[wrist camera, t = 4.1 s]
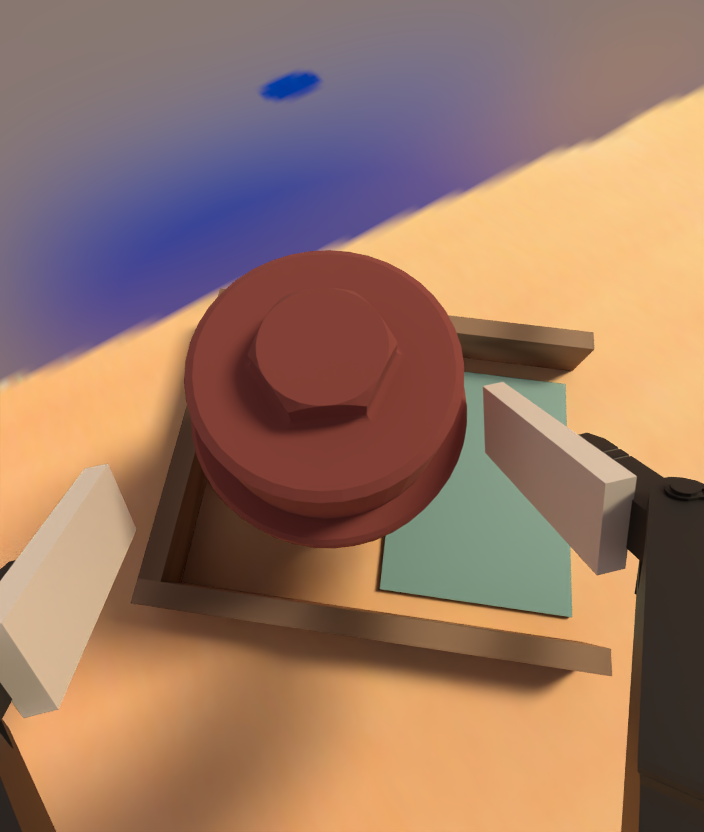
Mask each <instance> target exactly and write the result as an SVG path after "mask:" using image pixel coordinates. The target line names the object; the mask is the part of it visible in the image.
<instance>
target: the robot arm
mask: <svg viewBox="0 0 704 832" xmlns="http://www.w3.org/2000/svg"><path fill="white" fill-rule="evenodd" d="M483 407H484V435H485V453H486V454H487V455H488V456H489V457H490V459H491V460H492V461H493V462H494V463H495V464H496V465H497V466H498V467H499V468H500V470H501V471H502V472H503V473H504V474H505V475H506V476H507V477H508V478H509V479H510V481H511V482H512V483H513V484H514V485H515V486H516V487H517V488H518V489H519V490H520V492H521V493H522V494H523V495H524V496H525V497H526V498H527V499H528V500H529V501H530V503H531V504H532V505H533V506H534V507H535V508H536V509H537V510H538V511H539V512H540V513H541V515H542V516H543V517H544V518H545V519H546V520H547V521H548V522H549V523H550V524H551V526H552V527H553V528H554V529H555V530H556V531H557V532H558V533H559V534H560V535H561V537H562V538H563V539H564V540H565V541H566V542H567V543H568V544H569V545H570V546H571V548H572V549H573V550H574V551H575V552H576V553H577V554H578V555H579V556H580V557H581V559H582V560H583V561H584V562H585V563H586V564H587V565H588V566H589V567H590V568H591V569H592V571H593V572H594V573H595V574H596V575H601V574H605V573H609V572H613V571H617V570H621V569H625V566H626V558H627V550H629V551H630V552H631V553H632V554H634V555H635V556H636V557H637V558H638V559H639V567H638V574H637V581H636V588H635V594H636V609H635V625H634V641H633V656H632V672H631V687H630V703H629V719H628V734H627V750H626V766H625V781H624V797H623V813H622V828H621V832H704V484H703V483H700V482H698V481H695V480H691V479H686V478H680V477H667V478H664V477H662V476H661V475H659V474H657V473H656V472H654V471H653V470H651V469H650V468H648V467H647V466H645V465H644V464H642V463H641V462H639V461H638V460H636V459H635V458H633V457H632V456H630V457H629V454H627V453H626V452H624V451H623V450H621V449H618V447H617V446H615V445H614V444H612V443H611V442H609V441H608V440H606V439H604V438H601V437H598V436H595V435H592V434H589V433H584V434H580V435H578V434H576V433H575V432H573V431H572V430H571V429H569V428H568V427H566V426H565V425H564V424H562V423H561V422H559V421H558V420H556V419H555V418H554V417H552V416H551V415H549V414H548V413H547V412H545V411H544V410H542V409H541V408H539V407H538V406H537V405H535V404H534V403H532V402H531V401H530V400H528V399H527V398H525V397H524V396H522V395H521V394H520V393H518V392H517V391H515V390H514V389H513V388H511V387H510V386H508V385H507V384H505V383H504V382H500V383H495V384H490V385H485V386H483ZM136 530H137V529H136V527H135V524H134V522H133V520H132V517H131V515H130V513H129V510H128V508H127V506H126V504H125V501H124V499H123V497H122V494H121V492H120V490H119V487H118V485H117V483H116V481H115V478H114V476H113V474H112V471H111V469H110V467H109V464H104V465H99V466H94V467H89V468H85V469H84V470H83V471H82V473H81V474H80V475H79V477H78V478H77V479H76V481H75V482H74V483H73V485H72V486H71V487H70V489H69V490H68V491H67V493H66V494H65V495H64V497H63V498H62V499H61V501H60V502H59V503H58V505H57V506H56V507H55V509H54V510H53V511H52V513H51V514H50V515H49V517H48V518H47V519H46V521H45V522H44V523H43V525H42V526H41V527H40V529H39V530H38V531H37V533H36V534H35V535H34V537H33V538H32V539H31V541H30V542H29V543H28V545H27V546H26V547H25V549H24V550H23V551H22V553H21V554H20V555H19V557H18V558H17V559H16V560H14V561H10V562H8V563H7V564H6V565H5V566H4V567H2V568H1V569H0V832H56V830H55V828H54V826H53V824H52V822H51V819H50V817H49V815H48V813H47V811H46V808H45V806H44V804H43V802H42V800H41V797H40V795H39V793H38V791H37V789H36V786H35V784H34V782H33V780H32V778H31V775H30V773H29V771H28V769H27V767H26V764H25V762H24V760H23V758H22V756H21V753H20V751H19V749H18V747H17V745H16V742H15V740H14V738H13V736H12V734H11V731H10V729H9V728H8V726H7V725H6V724H5V722H4V721H3V720H2V718H3V716H4V714H5V712H6V710H7V709H8V707H9V705H10V703H11V701H12V703H13V704H14V706H15V707H16V708H17V710H18V711H19V713H20V714H21V715H22V717H23V718H26V717H30V716H34V715H38V714H42V713H46V712H50V711H54V710H58V709H59V707H60V705H61V702H62V700H63V698H64V696H65V693H66V691H67V689H68V686H69V684H70V682H71V679H72V677H73V675H74V673H75V670H76V668H77V666H78V663H79V661H80V659H81V656H82V654H83V652H84V650H85V647H86V645H87V643H88V640H89V638H90V636H91V633H92V631H93V629H94V627H95V624H96V622H97V620H98V617H99V615H100V613H101V610H102V608H103V606H104V604H105V601H106V599H107V597H108V594H109V592H110V590H111V587H112V585H113V583H114V580H115V578H116V576H117V574H118V571H119V569H120V567H121V564H122V562H123V560H124V557H125V555H126V553H127V551H128V548H129V546H130V544H131V541H132V539H133V537H134V534H135V532H136Z"/></svg>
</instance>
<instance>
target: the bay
mask: <svg viewBox="0 0 704 832" xmlns="http://www.w3.org/2000/svg"><path fill="white" fill-rule="evenodd" d="M224 290H225V289H220V291H219V295H220V294H221V293H222V292H223V291H224ZM219 295H218V296H219ZM448 316H449V315H448ZM449 318H450V320H451V322H452V324H453V326H454V327H455V330H456V333H457V336H458V339H459V342H460V344H461V349H462V355H463V357H464V358H472V359H480V360H488V361H496V362H505V363H513V364H521V365H529V366H538V367H546V368H554V369H562V370H570V371H573V370H574V369H575V368H576V367H577V366H578V365H579V364H580V363H581V362H582V361H583V360H584V359H585V358H586V357H587V356H588V355H589V354H590V353H591V352H592V351H593V350H594V335H593V332H585V331H576V330H568V329H559V328H551V327H542V326H534V325H525V324H517V323H508V322H500V321H491V320H483V319H474V318H466V317H457V316H449ZM500 382H504V383H505V384H507V385H508V386H510V387H511V388H513V389H514V390H515V391H517V392H518V393H520V394H521V395H522V396H524V397H525V398H527V399H528V400H530V401H531V402H532V403H534V404H535V405H537V406H538V407H539V408H541V409H542V410H544V411H545V412H547V413H548V414H549V415H551V416H552V417H554V418H555V419H556V420H558V421H559V422H561V423H562V424H564V425H565V426H566V427H567V420H566V385H565V384H561V383H552V382H544V381H536V380H528V379H520V378H512V377H504V376H496V375H487V374H479V373H471V372H464V388H465V395H466V402H467V428H466V434H465V440H464V445H463V448H462V451H461V454H460V457H459V460H458V462H457V464H456V466H455V468H454V470H453V472H452V474H451V476H450V478H449V480H448V481H447V483H446V484H445V485H444V487H443V488H442V490H441V491H440V492H439V494H438V495H437V496H436V497H435V498H434V499H433V500H432V502H431V503H430V504H429V505H428V506H427V507H426V508H425V509H424V510H423V511H422V512H421V513H419V514H418V515H417V516H416V517H415V518H414V519H412V520H411V521H410V522H409V523H407V524H406V525H404V526H402V527H401V528H399V529H398V530H396V531H394V532H393V533H391V534H388V535H386V536H385V544H384V554H383V563H382V572H381V581H380V589H383V590H389V591H396V592H403V593H410V594H417V595H424V596H430V597H437V598H444V599H451V600H458V601H464V602H471V603H478V604H485V605H492V606H499V607H505V608H512V609H519V610H526V611H533V612H540V613H546V614H553V615H560V616H567V617H572V594H571V559H570V545H569V544H568V543H567V542H566V541H565V540H564V539H563V538H562V537H561V535H560V534H559V533H558V532H557V531H556V530H555V529H554V528H553V527H552V526H551V524H550V523H549V522H548V521H547V520H546V519H545V518H544V517H543V516H542V515H541V513H540V512H539V511H538V510H537V509H536V508H535V507H534V506H533V505H532V504H531V503H530V501H529V500H528V499H527V498H526V497H525V496H524V495H523V494H522V493H521V492H520V490H519V489H518V488H517V487H516V486H515V485H514V484H513V483H512V482H511V481H510V479H509V478H508V477H507V476H506V475H505V474H504V473H503V472H502V471H501V470H500V468H499V467H498V466H497V465H496V464H495V463H494V462H493V461H492V460H491V459H490V457H489V456H488V455H487V454H486V453H485V435H484V407H483V386H485V385H490V384H495V383H500ZM206 480H207V477H206V476H205V474H204V472H203V470H202V467H201V465H200V462H199V460H198V458H197V455H196V451H195V446H194V442H193V438H192V426H191V416H190V412H189V409H188V405H187V407H186V411H185V414H184V418H183V421H182V425H181V428H180V432H179V435H178V439H177V442H176V446H175V449H174V453H173V456H172V460H171V463H170V467H169V470H168V474H167V478H166V481H165V485H164V488H163V492H162V495H161V499H160V502H159V506H158V509H157V513H156V516H155V520H154V523H153V527H152V530H151V534H150V537H149V541H148V544H147V548H146V551H145V555H144V558H143V562H142V565H141V569H140V573H139V576H138V580H137V583H136V587H135V590H134V594H133V597H132V601H131V603H132V604H139V605H146V606H152V607H159V608H165V609H172V610H179V611H185V612H192V613H198V614H205V615H211V616H218V617H225V618H231V619H238V620H244V621H251V622H258V623H264V624H271V625H277V626H284V627H291V628H297V629H304V630H310V631H317V632H323V633H330V634H337V635H343V636H350V637H356V638H363V639H370V640H376V641H383V642H389V643H396V644H403V645H409V646H416V647H422V648H429V649H436V650H442V651H449V652H455V653H462V654H468V655H475V656H482V657H488V658H495V659H501V660H508V661H515V662H521V663H528V664H534V665H541V666H548V667H554V668H561V669H567V670H574V671H580V672H587V673H594V674H600V675H607V676H612V665H611V649H609V648H605V647H601V646H597V645H592V644H588V643H584V642H578V641H572V640H565V639H558V638H551V637H545V636H538V635H531V634H525V633H518V632H511V631H504V630H498V629H491V628H484V627H478V626H471V625H464V624H457V623H451V622H444V621H437V620H430V619H424V618H417V617H410V616H404V615H397V614H390V613H383V612H377V611H370V610H363V609H357V608H350V607H343V606H336V605H330V604H323V603H316V602H309V601H303V600H296V599H289V598H283V597H276V596H269V595H262V594H256V593H249V592H242V591H236V590H229V589H222V588H215V587H209V586H202V585H195V584H188V583H182V582H181V579H182V575H183V571H184V567H185V564H186V560H187V556H188V552H189V548H190V544H191V540H192V536H193V532H194V528H195V524H196V520H197V516H198V512H199V508H200V504H201V500H202V496H203V492H204V488H205V484H206Z"/></svg>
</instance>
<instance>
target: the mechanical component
mask: <svg viewBox="0 0 704 832" xmlns="http://www.w3.org/2000/svg"><path fill="white" fill-rule="evenodd" d="M184 384H185V394H186V402H187V405H188V409H189V412H190V416H191V426H192V438H193V442H194V446H195V451H196V455H197V458H198V460H199V462H200V465H201V467H202V470H203V472H204V474H205V476H206V477H207V479H208V481H209V482H210V484H211V486H212V487H213V489H214V490H215V492H216V493H217V494H218V495H219V496H220V497H221V499H222V500H223V501H224V502H225V503H226V504H227V506H229V507H230V508H231V509H232V510H233V511H234V512H236V513H237V514H238V515H239V516H240V517H241V518H243V519H244V520H246V521H247V522H249V523H250V524H252V525H253V526H255V527H256V528H258V529H260V530H262V531H264V532H266V533H267V534H269V535H271V536H273V537H275V538H278V539H281V540H284V541H287V542H290V543H292V544H297V545H302V546H308V547H313V548H341V547H350V546H356V545H360V544H364V543H367V542H371V541H374V540H377V539H379V538H381V537H384V536H386V535H388V534H391V533H393V532H394V531H396V530H398V529H399V528H401V527H402V526H404V525H406V524H407V523H409V522H410V521H411V520H412V519H414V518H415V517H416V516H417V515H418V514H419V513H421V512H422V511H423V510H424V509H425V508H426V507H427V506H428V505H429V504H430V503H431V502H432V500H433V499H434V498H435V497H436V496H437V495H438V494H439V492H440V491H441V490H442V488H443V487H444V485H445V484H446V483H447V481H448V480H449V478H450V476H451V474H452V472H453V470H454V468H455V466H456V464H457V462H458V460H459V457H460V454H461V451H462V448H463V445H464V440H465V434H466V428H467V402H466V395H465V388H464V361H463V355H462V349H461V344H460V342H459V339H458V336H457V333H456V330H455V327H454V326H453V324H452V322H451V320H450V318H449V316H448V315H447V313H446V311H445V310H444V308H443V307H442V306H441V304H440V303H439V302H438V301H437V299H436V298H435V297H434V295H432V294H431V293H430V292H429V291H428V290H427V289H426V288H425V287H424V286H423V285H422V284H421V283H420V282H418V281H417V280H416V279H414V278H413V277H411V276H410V275H408V274H407V273H406V272H404V271H402V270H400V269H398V268H397V267H395V266H393V265H391V264H389V263H387V262H384V261H381V260H378V259H375V258H373V257H370V256H366V255H361V254H356V253H352V252H343V251H330V250H328V251H310V252H304V253H299V254H292V255H288V256H285V257H282V258H279V259H276V260H273V261H270V262H268V263H266V264H264V265H261V266H259V267H257V268H255V269H253V270H251V271H250V272H248V273H247V274H245V275H243V276H242V277H240V278H239V279H237V280H236V281H235V282H234V283H232V284H231V285H230V286H229V287H228V288H227V289H225V290H224V291H223V292H222V293H221V294H220V295H219V296H218V297H217V299H216V300H215V301H214V302H213V303H212V304H211V305H210V307H209V308H208V309H207V311H206V313H205V314H204V316H203V317H202V319H201V320H200V322H199V324H198V326H197V328H196V330H195V333H194V335H193V337H192V339H191V342H190V346H189V350H188V354H187V358H186V363H185V377H184Z"/></svg>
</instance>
